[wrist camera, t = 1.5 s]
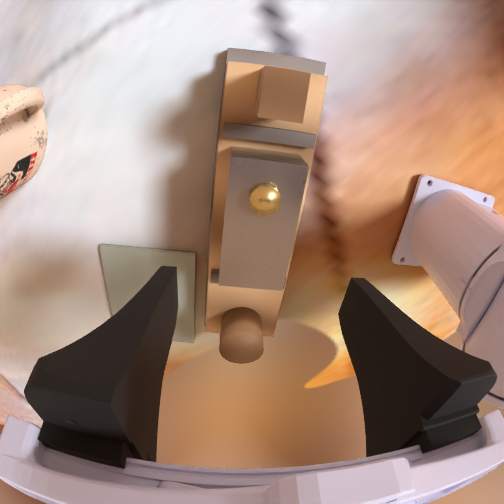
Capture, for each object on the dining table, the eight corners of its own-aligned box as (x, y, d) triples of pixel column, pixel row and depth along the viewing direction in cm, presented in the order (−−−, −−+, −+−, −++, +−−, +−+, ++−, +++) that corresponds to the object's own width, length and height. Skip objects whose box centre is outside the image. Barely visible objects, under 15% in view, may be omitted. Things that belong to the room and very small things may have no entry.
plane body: (228, 49, 16) (221, 33, 10) (322, 63, 16) (357, 57, 11) (205, 319, 27) (198, 377, 22) (271, 324, 28) (276, 381, 22)
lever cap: (232, 146, 17) (229, 159, 14) (300, 154, 17) (311, 169, 15) (220, 262, 21) (217, 291, 18) (278, 267, 21) (283, 296, 19)
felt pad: (195, 252, 24) (195, 255, 23) (194, 339, 29) (194, 342, 28) (101, 243, 23) (99, 246, 22) (117, 329, 28) (116, 332, 28)
